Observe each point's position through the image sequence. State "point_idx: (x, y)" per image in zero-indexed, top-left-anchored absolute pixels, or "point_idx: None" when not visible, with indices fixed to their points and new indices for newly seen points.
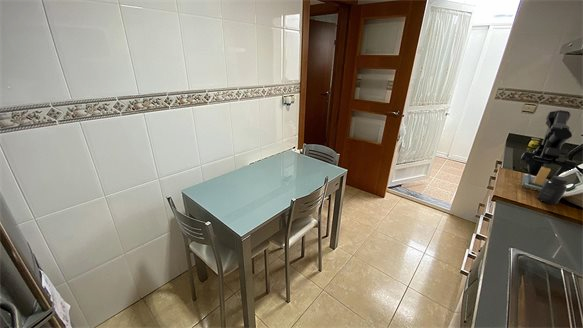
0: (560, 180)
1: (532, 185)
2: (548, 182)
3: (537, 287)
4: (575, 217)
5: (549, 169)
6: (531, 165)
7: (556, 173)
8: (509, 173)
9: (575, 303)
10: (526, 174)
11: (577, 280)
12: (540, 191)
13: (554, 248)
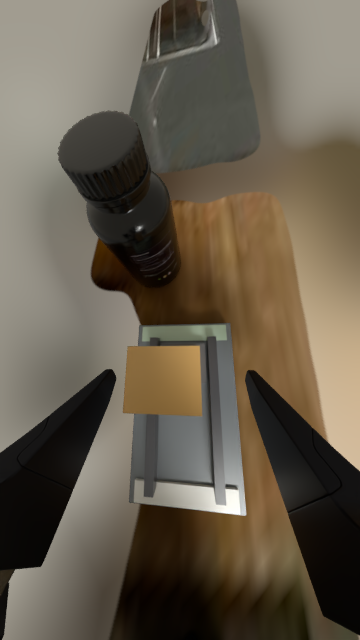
0: (105, 116)
1: (198, 334)
2: (160, 181)
3: (184, 15)
4: None
5: (135, 362)
6: (293, 428)
7: (85, 433)
8: None
9: (152, 25)
10: (231, 501)
11: (144, 53)
12: (177, 242)
13: (161, 87)
